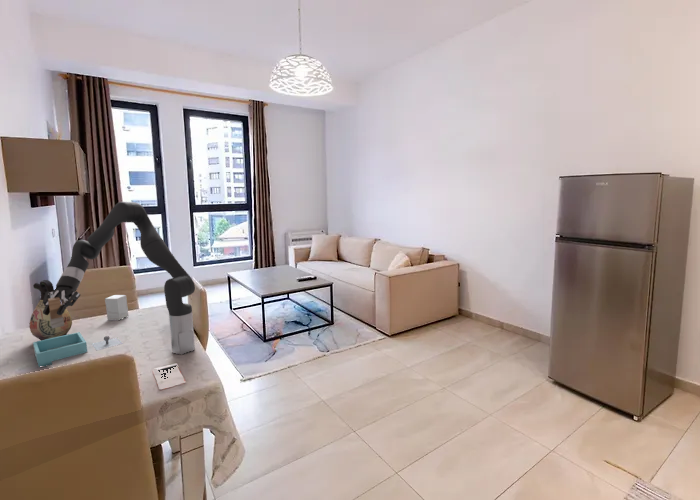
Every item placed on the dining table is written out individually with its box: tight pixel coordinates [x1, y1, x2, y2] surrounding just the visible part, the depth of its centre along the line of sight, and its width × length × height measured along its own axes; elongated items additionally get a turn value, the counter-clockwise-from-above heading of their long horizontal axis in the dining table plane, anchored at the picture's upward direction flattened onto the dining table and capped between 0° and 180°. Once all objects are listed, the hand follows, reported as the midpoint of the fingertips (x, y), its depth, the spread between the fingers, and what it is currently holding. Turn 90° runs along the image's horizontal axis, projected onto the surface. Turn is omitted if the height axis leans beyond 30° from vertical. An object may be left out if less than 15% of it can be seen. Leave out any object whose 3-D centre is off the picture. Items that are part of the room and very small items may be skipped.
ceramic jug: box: [28, 279, 73, 341], centre depth 165 cm, size 17×15×30 cm
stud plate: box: [91, 335, 124, 351], centre depth 160 cm, size 10×10×5 cm
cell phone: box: [154, 362, 179, 379], centre depth 134 cm, size 9×18×1 cm, turn 36°
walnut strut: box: [48, 297, 64, 328], centre depth 149 cm, size 4×4×12 cm
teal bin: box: [32, 331, 88, 368], centre depth 151 cm, size 16×16×6 cm
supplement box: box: [104, 294, 129, 321], centre depth 196 cm, size 7×7×13 cm
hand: (52, 314), depth 147 cm, fingers closed on walnut strut, 5 cm apart
